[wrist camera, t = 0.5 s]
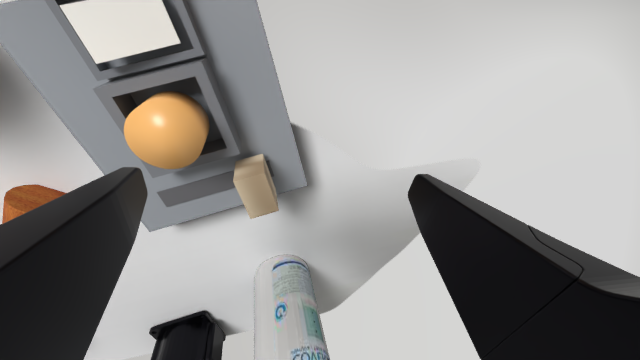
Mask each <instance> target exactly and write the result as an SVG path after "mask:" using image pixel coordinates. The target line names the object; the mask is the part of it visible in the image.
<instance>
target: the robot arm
mask: <svg viewBox="0 0 640 360" xmlns="http://www.w3.org/2000/svg"><path fill="white" fill-rule="evenodd" d="M147 196H148V192H147V187H146V184H145V180H144V177H143V173H142V171H141V169H140V168H138V167H122V168H120V169H117V170H115V171H113V172H111V173H109V174H107V175H105V176H103V177H101V178H98V179H96V180H94V181H92V182H90V183H88V184H86V185H84V186H81V187H79V188H77V189H75V190H73V191H71V192H69V193H67V194H65V195H62V196H60V197H58V198H56V199H54V200H52V201H50V202H48V203H46V204H43V205H41V206H39V207H37V208H35V209H33V210H31V211H29V212H26V213H24V214H22V215H20V216H18V217H16V218H14V219H12V220H10V221H7V222H5V223H3V224H1V225H0V360H83V359H84V357H85V355H86V352H87V350H88V348H89V345H90V343H91V341H92V339H93V336H94V334H95V332H96V329H97V327H98V325H99V323H100V320H101V318H102V316H103V313H104V311H105V309H106V306H107V304H108V302H109V300H110V297H111V295H112V293H113V290H114V288H115V286H116V283H117V281H118V279H119V277H120V274H121V272H122V270H123V267H124V265H125V263H126V261H127V258H128V256H129V254H130V251H131V249H132V247H133V244H134V241H135V238H136V235H137V232H138V228H139V225H140V221H141V218H142V214H143V211H144V207H145V204H146V200H147ZM408 198H409V201H410V204H411V207H412V210H413V213H414V216H415V218H416V221H417V224H418V227H419V230H420V232H421V234H422V237H423V239H424V241H425V243H426V245H427V247H428V249H429V251H430V254H431V256H432V258H433V260H434V262H435V264H436V266H437V268H438V270H439V273H440V275H441V277H442V279H443V281H444V283H445V285H446V287H447V290H448V292H449V294H450V296H451V298H452V300H453V302H454V304H455V306H456V309H457V311H458V313H459V315H460V317H461V319H462V321H463V323H464V325H465V327H466V330H467V332H468V334H469V336H470V338H471V340H472V342H473V344H474V347H475V349H476V351H477V353H478V355H479V357H480V359H481V360H640V277H638V276H635V275H633V274H631V273H628V272H626V271H624V270H622V269H620V268H617V267H615V266H613V265H611V264H609V263H607V262H605V261H602V260H600V259H598V258H596V257H594V256H592V255H589V254H587V253H585V252H583V251H581V250H579V249H576V248H574V247H572V246H570V245H568V244H566V243H564V242H562V241H559V240H557V239H555V238H553V237H551V236H549V235H547V234H545V233H543V232H541V231H539V230H537V229H535V228H533V227H531V226H529V225H526V224H525V223H523V222H521V221H519V220H517V219H515V218H513V217H511V216H509V215H507V214H505V213H503V212H501V211H499V210H498V209H496V208H493V207H492V206H490V205H488V204H486V203H484V202H482V201H480V200H477V199H476V198H474V197H472V196H470V195H468V194H466V193H464V192H462V191H460V190H458V189H456V188H454V187H452V186H450V185H448V184H446V183H444V182H442V181H440V180H438V179H436V178H434V177H432V176H430V175H428V174H418V175H416V176H415V178H414V180H413V182H412V184H411V187H410V189H409V192H408ZM149 334H150V335H151V336H153V337H154V338H155V339H156V344H155V347H154V350H153V354H152V357H151V360H221V357H222V346H223V341H225V338H226V336H225V334H224V333H223V331H222V330H221V329H220V328H219V326H218V325H217V324H216V323H215V322H214V321H213V320H212V318H211V317H210V316H209V315H208V313H207V312H205V311H201V312H198V313H195V314H192V315H189V316H186V317H182V318H179V319H176V320H173V321H170V322H167V323H164V324H161V325H158V326H155V327H152V328H151V329H150V332H149Z"/></svg>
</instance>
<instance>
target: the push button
mask: <svg viewBox="0 0 640 360" xmlns="http://www.w3.org/2000/svg"><path fill="white" fill-rule="evenodd" d="M209 128H210V124H209V118H208V116H207V113H206V112H205V110H204V108H203V107H202V106H201V105H200V104H199V103H198V102H197V101H196V100H195V99H193V98H192V97H190V96H188V95H186V94H183V93H180V92H176V91H163V92H159V93H156V94H154V95H153V96H151V97H150V98H148V99H147V100H146V101H145V102H143V103H142V104H141V105H139V106H138V107H137V108H136V109H134V110H133V111H132V112H131V113H130V114H129V115H128V117H127V118H126V121H125V124H124V136H125V139H126V142H127V144H128V146H129V147H130V149H131V150H132V151H133V153H134V154H135V155H136V156H138V157H139V158H140V159H141V160H143V161H144V162H146V163H148V164H150V165H153V166H155V167H159V168H163V169H179V168H183V167H186V166H188V165H190V164H192V163H193V162H194V161H195V160H196V159H197V158H198V157H199V156H200V154H201V152H202V149H203V146H204V144H205V141H206V138H207V136H208V133H209Z"/></svg>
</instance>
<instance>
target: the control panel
mask: <svg viewBox="0 0 640 360" xmlns="http://www.w3.org/2000/svg"><path fill="white" fill-rule="evenodd" d="M80 1H85V0H18V1H13V2H8V3H4V4H0V44H1V45H2V46H3V47H4V49H5V50H6V51H7V52H8V54H9V55H10V56H11V58H12V59H13V60H14V61H15V63H16V64H17V65H18V66H19V68H20V69H21V70H22V71H23V73H24V74H25V75H26V76H27V78H28V79H29V80H30V82H31V83H32V84H33V85H34V87H35V88H36V89H37V90H38V92H39V93H40V94H41V95H42V97H43V98H44V99H45V100H46V102H47V103H48V104H49V105H50V107H51V108H52V109H53V111H54V112H55V113H56V114H57V116H58V117H59V118H60V119H61V121H62V122H63V123H64V124H65V126H66V127H67V128H68V129H69V131H70V132H71V133H72V134H73V136H74V137H75V138H76V140H77V141H78V142H79V143H80V145H81V146H82V147H83V148H84V150H85V151H86V152H87V153H88V155H89V156H90V157H91V158H92V160H93V161H94V162H95V164H96V165H97V166H98V167H99V169H100V170H101V171H102V172H103V174H104V175H107V174H109V173H111V172H113V171H115V170H117V169H120V168H122V167H138V168H140V169H141V171H142V173H143V177H144V180H145V184H146V187H147V192H148V196H147V200H146V204H145V207H144V211H143V214H142V218H141V222H142V223H143V224H144V225H145V227H146V228H147V229H148V230H149V232H151V231H155V230H158V229H162V228H165V227H168V226H172V225H175V224H179V223H182V222H185V221H189V220H192V219H196V218H199V217H203V216H206V215H209V214H213V213H216V212H220V211H223V210H226V209H230V208H233V207H237V206H240V205H243V202H242V199H241V197H240V195H239V193H238V191H237V189H236V187H235V185H234V182H233V178H234V170H235V161H238V160H242V159H245V158H249V157H252V156H256V155H260V154H263V155H264V158H265V161H266V164H267V166H268V169H269V172H270V175H271V177H272V180H273V183H274V186H275V188H276V195H277V194H281V193H284V192H288V191H291V190H294V189H298V188H301V187H305V186H308V185H307V182H306V178H305V174H304V171H303V167H302V164H301V160H300V156H299V153H298V149H297V146H296V142H295V138H294V135H293V131H292V127H291V124H290V120H289V117H288V113H287V109H286V106H285V102H284V98H283V95H282V91H281V88H280V84H279V80H278V77H277V73H276V70H275V66H274V62H273V59H272V55H271V51H270V48H269V44H268V41H267V37H266V33H265V30H264V26H263V22H262V19H261V15H260V12H259V8H258V4H257V1H256V0H162V1H163V3H164V6H165V8H166V10H167V12H168V15H169V17H170V19H171V21H172V24H173V26H174V28H175V30H176V33H177V35H178V37H179V39H180V42H181V43H179V44H175V45H171V46H167V47H163V48H159V49H155V50H151V51H147V52H143V53H139V54H135V55H131V56H126V57H122V58H118V59H114V60H110V61H106V62H102V63H98V64H96V63H95V61H94V60H93V58H92V56H91V55H90V53H89V52H88V50H87V49H86V47H85V45H84V44H83V42H82V41H81V39H80V37H79V36H78V34H77V33H76V31H75V30H74V28H73V26H72V25H71V23H70V22H69V20H68V19H67V17H66V15H65V14H64V12H63V11H62V9H61V7H60V6H59V5H64V4H70V3H75V2H80ZM163 91H176V92H180V93H183V94H186V95H188V96H190V97H192V98H193V99H195V100H196V101H197V102H198V103H199V104H200V105H201V106H202V107H203V108H204V110H205V112H206V113H207V116H208V118H209V124H210V128H209V133H208V136H207V138H206V141H205V144H204V146H203V149H202V152H201V154H200V156H199V157H198V158H197V159H196V160H195V161H194V162H193V163H192V164H190V165H188V166H186V167H183V168H179V169H163V168H159V167H155V166H153V165H150V164H148V163H146V162H144V161H143V160H141V159H140V158H139V157H138V156H136V155H135V154H134V153H133V151H132V150H131V149H130V147H129V146H128V144H127V142H126V139H125V136H124V124H125V121H126V118H127V117H128V115H129V114H130V113H131V112H132V111H133V110H134V109H136V108H137V107H138V106H139V105H141V104H142V103H143V102H145V101H146V100H147V99H148V98H150V97H151V96H153V95H154V94H156V93H159V92H163Z"/></svg>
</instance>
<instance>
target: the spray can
mask: <svg viewBox="0 0 640 360" xmlns="http://www.w3.org/2000/svg"><path fill="white" fill-rule="evenodd" d="M254 360H330V358H329V355H328V350H327V345H326V341H325V337H324V333H323V328H322V324H321V320H320V316H319V311H318V307H317V303H316V298H315V294H314V290H313V286H312V281H311V277H310V273H309V269H308V266H307V264H306V263H305V262H304V260H302V259H301V258H299V257H296V256H293V255H280V256H276V257H272V258H270V259H268V260H266V261H264V262H263V263H262V264H261V265H260V266H259V267H258V269H257V270H256V273H255V277H254Z"/></svg>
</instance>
